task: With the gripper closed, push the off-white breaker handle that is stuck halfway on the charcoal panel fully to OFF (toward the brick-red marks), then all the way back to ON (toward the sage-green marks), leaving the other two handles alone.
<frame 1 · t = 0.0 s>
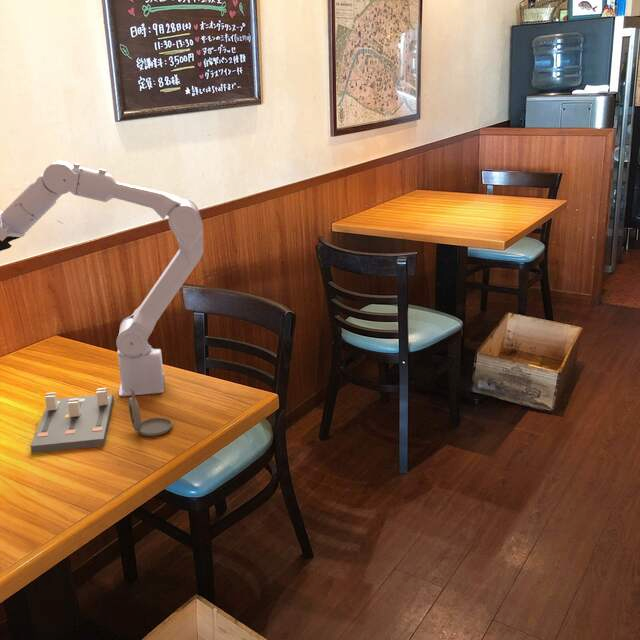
pocket watch: (149, 431, 135), on the table
handle tripped: (74, 407, 138), point 3 cm above the table, slide at 0.0 cm
handle 1: (51, 400, 140), point 3 cm above the table, slide at -4.0 cm
handle 2: (102, 396, 142), point 3 cm above the table, slide at -4.0 cm
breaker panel: (75, 424, 138), on the table
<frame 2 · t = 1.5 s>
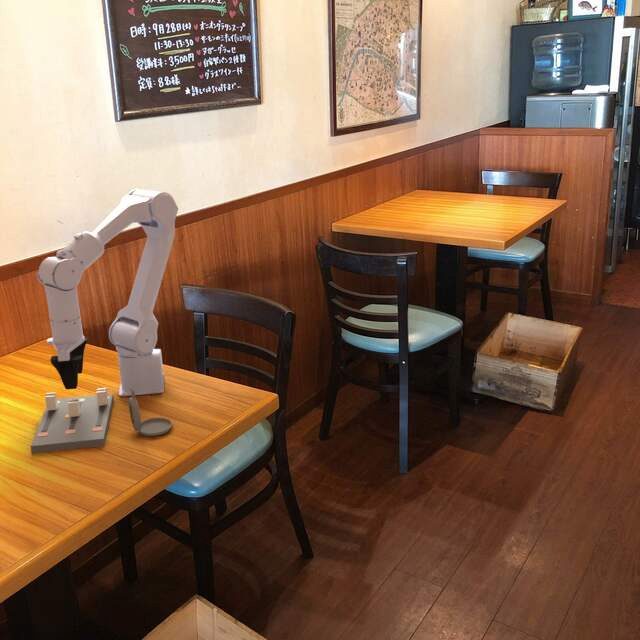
hand: (74, 380, 140), 7 cm above the table, tool pointing down, fingers open, 7 cm apart
nothing on the table moved.
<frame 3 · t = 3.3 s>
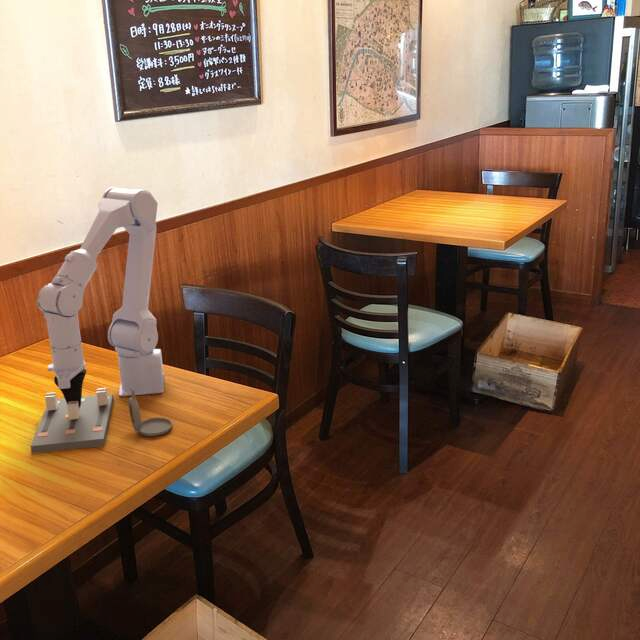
hand: (74, 406, 139), 3 cm above the table, tool pointing down, fingers closed
handle tripped: (73, 409, 136), point 3 cm above the table, slide at 1.2 cm, touching gripper
everything else where it was.
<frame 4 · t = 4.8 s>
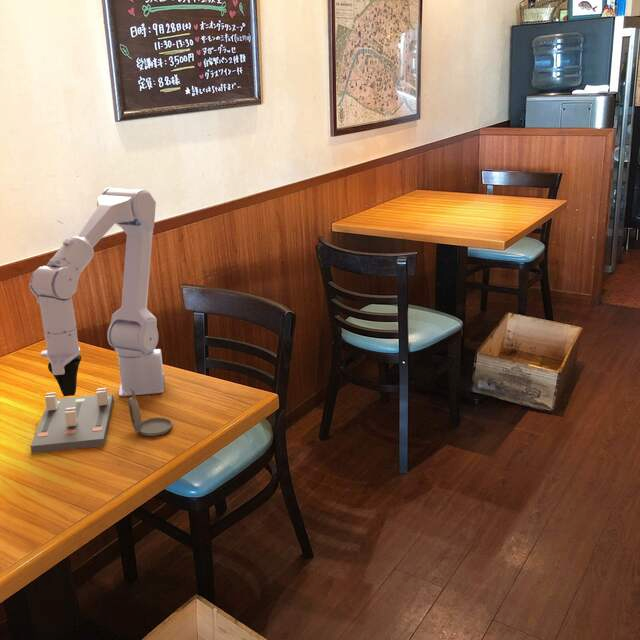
hand: (69, 394, 134), 7 cm above the table, tool pointing down, fingers closed
handle tripped: (71, 416, 134), point 3 cm above the table, slide at 4.1 cm
everything else where it was.
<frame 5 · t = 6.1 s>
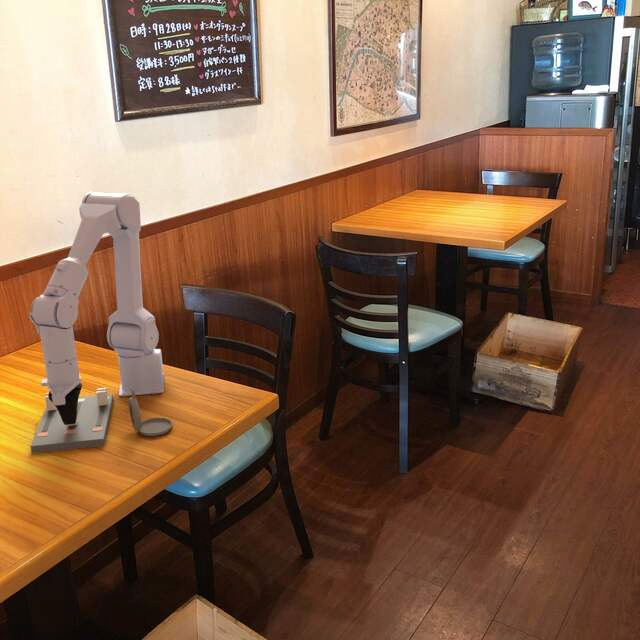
hand: (70, 422, 132), 3 cm above the table, tool pointing down, fingers closed
handle tripped: (71, 415, 134), point 3 cm above the table, slide at 3.9 cm, touching gripper
everything else where it was.
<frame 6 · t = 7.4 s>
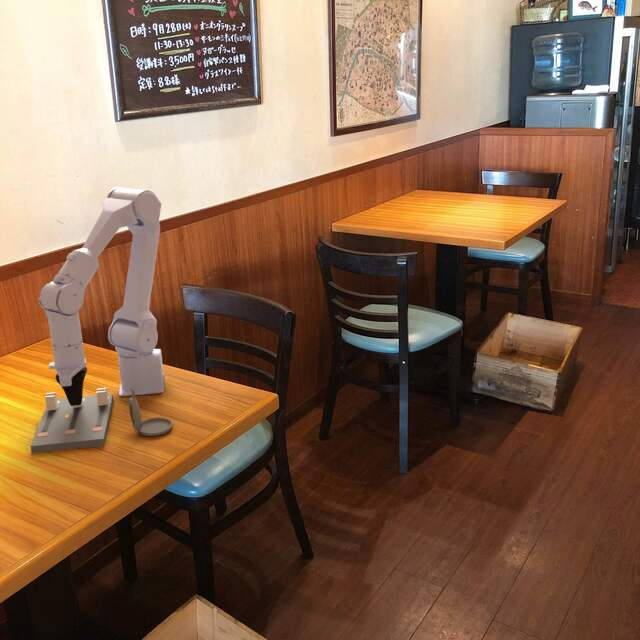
hand: (76, 404, 140), 3 cm above the table, tool pointing down, fingers closed
handle tripped: (77, 398, 141), point 3 cm above the table, slide at -4.1 cm, touching gripper
everything else where it was.
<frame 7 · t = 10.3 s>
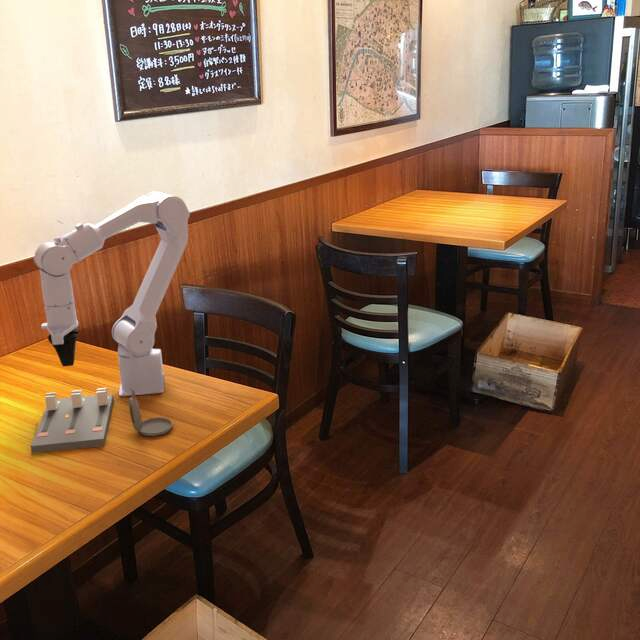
hand: (68, 364, 143), 9 cm above the table, tool pointing down, fingers closed
handle tripped: (77, 398, 141), point 3 cm above the table, slide at -4.1 cm
everything else where it was.
at the end: handle tripped slide at -4.1 cm; handle 2 slide at -4.0 cm; handle 1 slide at -4.0 cm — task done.
